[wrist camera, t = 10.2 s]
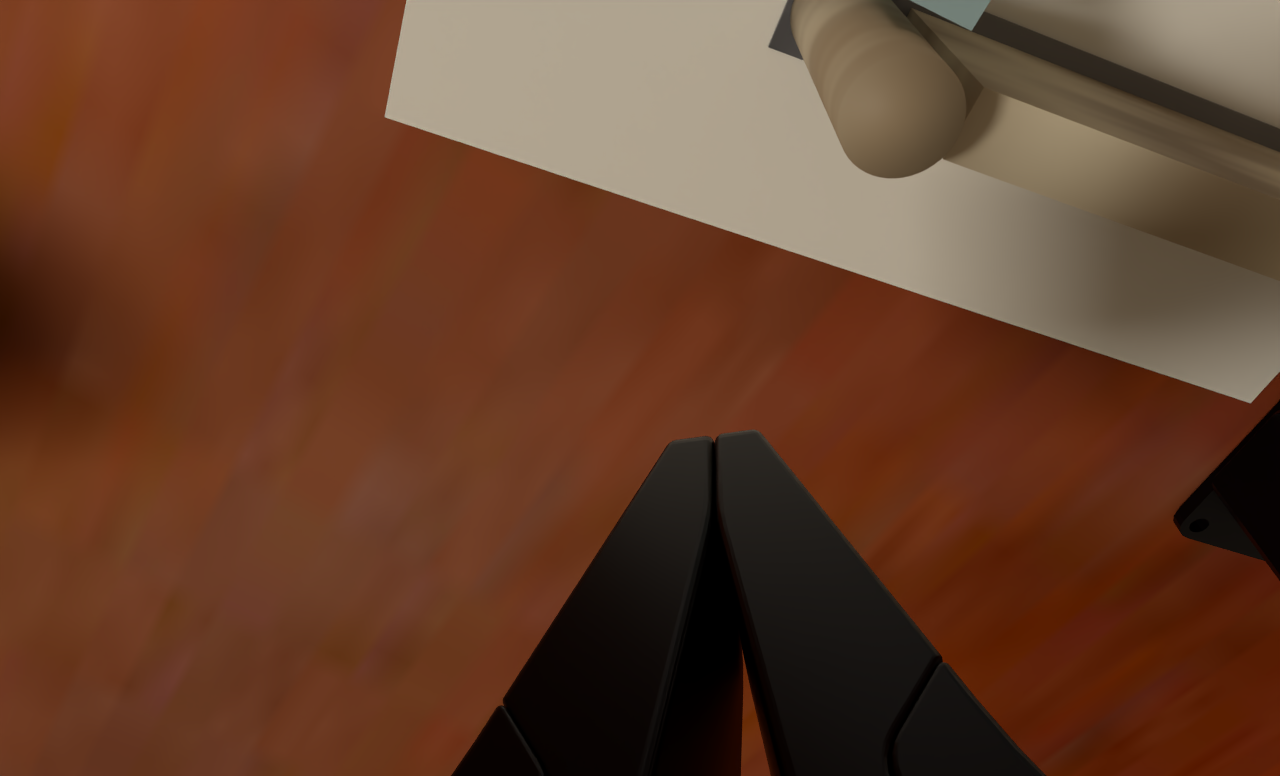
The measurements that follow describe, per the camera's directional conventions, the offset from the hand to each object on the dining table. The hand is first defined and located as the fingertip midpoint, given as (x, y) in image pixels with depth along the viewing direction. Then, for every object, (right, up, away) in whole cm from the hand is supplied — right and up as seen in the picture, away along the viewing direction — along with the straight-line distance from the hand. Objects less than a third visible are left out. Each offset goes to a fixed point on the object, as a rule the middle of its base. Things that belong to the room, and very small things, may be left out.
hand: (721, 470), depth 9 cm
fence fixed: (+8, +7, +10) cm, 15 cm away
